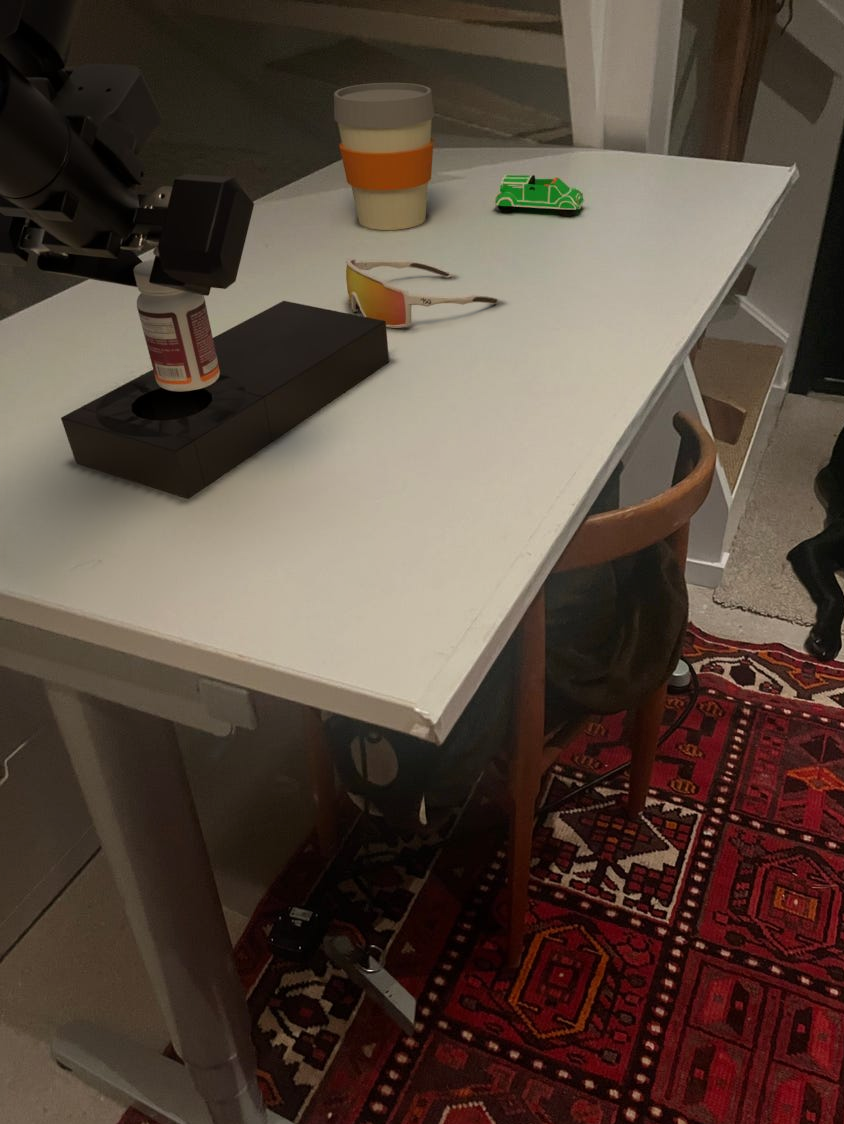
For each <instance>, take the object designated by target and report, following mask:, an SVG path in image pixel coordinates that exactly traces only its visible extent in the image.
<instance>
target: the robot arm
mask: <svg viewBox="0 0 844 1124" xmlns="http://www.w3.org/2000/svg"><path fill="white" fill-rule="evenodd" d="M83 2H84V0H0V265H2V266H11V267H19V268H20V267H21V268H27V264H28V261H29V256H30V253H29V252H27V251H32V252H34V253H35V254H37V259H36V266H37V268H38V269H39V270H40V271H42V272H44V273H50V274H55V275H62V276H68V277H76V278H81V279H87V280H93V281H97V282H105V283H110V284H115V285H121V286H127V287H133V288H138V287H137V284H136V280H135V276H134V268H135V266H136V265H138V264H140V263H142V262H143V260H142V259H141V258H140V256H138V255H137V254H136V253H135V252H134V251H136V252H137V251H138V252H140V251H142V250H143V249H144V246H145V242H146V243H147V244H148V245H149V246H151V247H152V248H154V249H153V252H152V253H153V255H154V258H153V259H154V263H153V267H152V271H151V275H150V279H149V282H150V283H152V284H156V285H160V286H164V287H169V288H174V289H178V290H182V291H186V292H191V293H195V294H200V295H204V297H206V296H209V295H210V293H211V289H213V288H214V289H221V290H222V289H223V290H227V288H228V289H229V287H230V286H232V285H233V284H234V283H235V282H236V280H237V276H238V273H239V270H240V269H239V268H240V264H241V260H242V256H243V252H244V247H245V244H246V240H247V236H248V232H249V229H250V223H251V219H252V215H253V210H254V206H255V202H254V201H253V200H252V198H251V196H250V195H249V193H247V191H246V190H245V189H244V187H243V186H242V185H241V184H240V183H239V182H238V180H237V179H236V178H235V177H234V176H219V175H207V174H192V173H185V174H183V175H181V176H178V177H176V178H174V180H173V182H172V185H161V186H159V187H157V189H155V190H154V192H153V193H152V194H141V193H137V192H136V187H137V186H143V185H144V182H145V178H146V173H147V170H148V166H147V165H146V164H145V163H144V162H143V160H141V158H140V157H139V156H138V155H139V154H140V153H141V152H142V150H143V149H144V147H145V146H146V144H147V142H148V141H149V139H150V138H151V136H152V135H153V133H154V131H155V130H156V129H159V128H160V127H161V125H163V121H164V117H163V115H162V112H161V111H160V109H159V106H158V104H157V102H156V99H155V97H154V95H153V94H152V92H151V90H150V88H149V86H148V84H147V81H146V79H145V76H144V75H143V73H142V70H141V69H140V68H139V66H136V65H131V64H113V63H112V64H111V63H109V64H107V63H86V64H83V65H81V66H67V67H66V64H67V62H68V58H69V54H70V51H71V46H72V43H73V39H74V36H75V32H76V28H77V25H78V20H79V17H80V12H81V9H82V6H83ZM65 67H66V68H65Z"/></svg>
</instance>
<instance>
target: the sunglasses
mask: <svg viewBox="0 0 844 1124" xmlns="http://www.w3.org/2000/svg"><path fill="white" fill-rule="evenodd" d="M345 264H346V269H345V274H346V275H345V279H346V290H347V294H348V298H349V301H350V306H351V310H352V311H353V313H356V312H358V311H359V310H360V312H361V314H362V316H363V317H368V318H373V319H378V320H383V321H386V328H390V329H391V328H392V329H393V328H394V329H400V328H401V329H402V328H407V327H409V326H411V325H412V306H421V307H431V306H434V305H441V304H455V305H456V304H457V305H467V304H473V303H481V304H482V303H483V304H491V305H497V304H498V302H499V301H500V300H499V298H497V297H493V296H488V295H479V294H478V295H477V294H476V295H475V294H473V295H467V296H436V295H435V296H434V295H425V294H424V295H423V294H413V293H410V292H409V291H408V290H407V289H403V288H400V287H397V286H393V285H391V284H389V283H388V281H386V280H383V279H381V278H379V277H376V276H374V275H371V274H369V273H368V272H366V271H370V270H372V269H374V268H377V267H391V268H396V269H406V268H408V269H417V270H422V271H425V272H429V273H432V274H435V275H438V276H440V277H444V278H446V279H447V278H448V279H449V278H452V276H453V273H451V272H450V271H447V270H444V269H442V268H439V267H436V266H435V265H430V264H427V263H424V262H421V261H415V260H374V259H373V260H370V259H369V260H368V259H367V260H356V259H355V258H346V259H345Z"/></svg>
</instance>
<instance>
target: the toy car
mask: <svg viewBox="0 0 844 1124" xmlns="http://www.w3.org/2000/svg"><path fill="white" fill-rule="evenodd" d="M491 202H492V204H494V205H495V206H497V208H498V209H499V211H500V212H501V213H503V214H509V213H511V212H512V211H513V209H514V208H515V207H517V208H535V209H551V210H553V209H554V210H558V212H559V213H560V215H561V216H562V217H566V218H569V217H571V216H572V215H573V214H574V213H575V211H576V210H580V209H581V208H582V206H583V205H584V203H585V199H584V193H583V192H582V191H581V190H580V189H579V188H578V189H577V188H576V187H570V186H569V185H567V184H566V183H565V182H564V181H563V180H562V179H561V178H559V177H554V178H536V175H535V174H533V175H529V174H525V175H524V174H505V175H504V176H503V177H502V179H501V183H500V187H499V192H497V194H496V196H495V197H494V198H493V199H492V201H491Z"/></svg>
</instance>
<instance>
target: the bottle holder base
mask: <svg viewBox="0 0 844 1124" xmlns="http://www.w3.org/2000/svg"><path fill="white" fill-rule="evenodd" d="M213 341H214V346H215V351H216V356H217V360H218V366H219V370H220V375H219V378H218V379H217V380H216V381H215V382H214V383H213V384H211V385H209V386H207V387H204V388H201V389H197V390H191V391H170V390H166V389H164V388H162V387H160V386H159V385H158V383H157V381H156V378H155V374H154V370H153V369H151V370H148V371H147V372H145V373H143V374H140V375H139V376H137V377H135V378H133V379H131V380H130V381H128V382H126V383H124V384H122V385H120V386H119V387H117V388H114V389H113V390H110V391H109V392H107V393H105V394H103V395H102V396H99V397H98V398H95V399H94V400H92V401H90V402H88V403H86V404H84V405H82V406H80V407H79V408H76V409H74V410H73V411H71V412H69V413H66V414H65V415H63V416H61V417H60V420H61V422H62V425H63V429H64V432H65V435H66V438H67V441H68V444H69V447H70V450H71V452H72V456H73V458H74V461H75V463H76V464H79V465H82V466H85V467H88V468H91V469H94V470H98V471H101V472H104V473H107V474H109V475H113V476H117V477H119V478H123V479H125V480H129V481H132V482H135V483H139V484H142V485H144V486H148V487H151V488H154V489H157V490H160V491H163V492H168V493H170V494H173V495H175V496H176V495H177V496H179V497H183V498H185V499H189V498H191V497H193V496H194V495H195V494H197V493H198V492H200V491H201V490H203V489H204V488H205V487H207V486H209V485H210V484H212V483H213V482H214V481H216V480H217V479H219V478H220V477H222V476H224V474H226V473H228V472H229V471H231V470H232V469H233V468H235V467H236V466H238V465H240V464H241V463H243V462H244V461H246V460H247V459H249V458H250V457H252V456H253V455H254V454H256V453H257V452H259V451H260V450H261V449H263V448H264V447H266V446H268V445H270V444H271V442H273V441H274V440H276V439H277V438H279V437H280V436H282V435H284V434H285V433H287V432H288V431H289V430H291V429H292V428H294V427H295V426H297V425H298V424H300V423H302V422H303V421H304V420H306V419H307V418H308V417H310V416H311V415H313V414H314V413H316V412H317V411H319V410H320V409H322V408H323V407H325V406H327V405H328V404H329V403H331V402H332V401H333V400H335V399H337V398H338V397H339V396H341V395H343V394H344V393H345V392H347V391H348V390H350V389H352V388H353V387H354V386H355V385H357V384H358V383H360V382H361V381H363V380H364V379H365V378H368V377H369V376H371V375H372V374H373V373H375V372H377V370H379V369H381V368H382V367H383V366H385V365H386V364H388V363H389V362H390V358H389V357H390V355H389V343H388V331H387V327H386V321H383V320H378V319H373V318H368V317H364V315H358V314H352V313H347V312H342V311H339V310H337V311H336V310H333V309H327V308H322V307H319V306H312V305H307V304H303V303H297V302H293V301H287V300H282V301H280V302H278V303H276V304H274V305H273V306H271V307H269V308H267V309H264V310H263V311H260V312H259V313H257V314H256V315H254V316H252V317H250V318H248V319H246V320H244V321H241V322H240V323H238V324H236V325H235V326H233V327H231V328H229V329H227V330H225V331H223V332H221V333H219V334H217V335H216V336H213Z"/></svg>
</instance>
